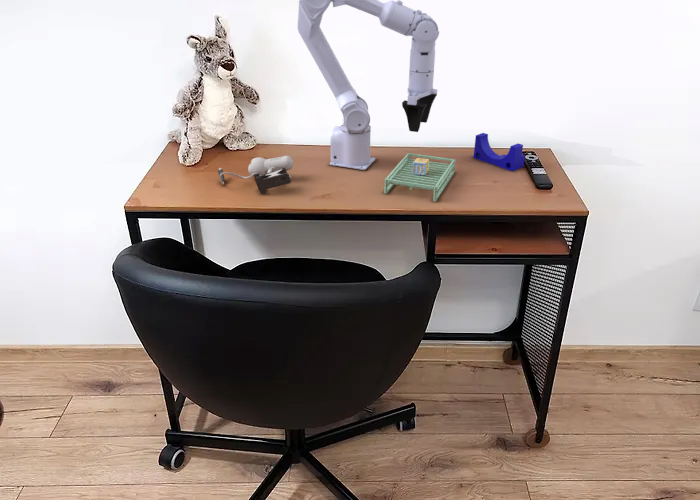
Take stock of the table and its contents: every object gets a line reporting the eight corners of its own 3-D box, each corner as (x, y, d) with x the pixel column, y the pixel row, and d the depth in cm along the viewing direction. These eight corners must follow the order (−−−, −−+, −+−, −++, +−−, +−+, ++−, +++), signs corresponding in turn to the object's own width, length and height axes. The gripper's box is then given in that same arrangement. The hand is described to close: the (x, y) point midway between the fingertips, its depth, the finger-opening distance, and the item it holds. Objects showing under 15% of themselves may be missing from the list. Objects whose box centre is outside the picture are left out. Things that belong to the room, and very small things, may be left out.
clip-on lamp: (216, 204, 143) (292, 190, 140) (206, 180, 140) (284, 165, 137) (226, 180, 153) (297, 166, 150) (217, 156, 149) (290, 142, 147)
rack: (435, 202, 138) (437, 187, 136) (383, 193, 142) (384, 179, 140) (454, 172, 153) (455, 159, 151) (406, 166, 157) (407, 152, 155)
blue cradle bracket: (523, 166, 157) (526, 143, 154) (512, 171, 154) (515, 147, 151) (484, 153, 164) (486, 131, 161) (473, 157, 162) (475, 135, 159)
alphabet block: (412, 174, 145) (412, 161, 144) (416, 169, 148) (416, 157, 146) (425, 176, 144) (425, 163, 143) (428, 171, 147) (429, 159, 146)
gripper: (430, 78, 140) (426, 137, 147) (445, 64, 152) (441, 119, 159) (399, 75, 142) (397, 133, 149) (417, 62, 154) (414, 116, 161)
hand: (418, 126), depth 154 cm, fingers open, 7 cm apart
